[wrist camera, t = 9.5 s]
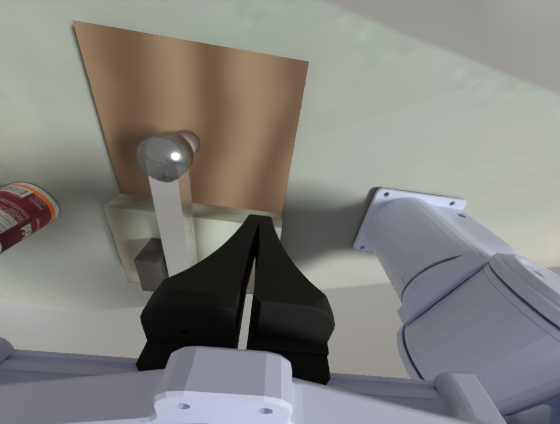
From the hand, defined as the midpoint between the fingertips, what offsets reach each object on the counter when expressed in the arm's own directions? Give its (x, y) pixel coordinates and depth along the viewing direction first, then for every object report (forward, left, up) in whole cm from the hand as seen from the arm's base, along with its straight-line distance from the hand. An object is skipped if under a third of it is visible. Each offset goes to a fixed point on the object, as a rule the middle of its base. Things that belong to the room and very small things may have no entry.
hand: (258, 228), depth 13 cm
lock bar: (+7, +3, -5) cm, 9 cm away
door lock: (+6, +3, -9) cm, 11 cm away
